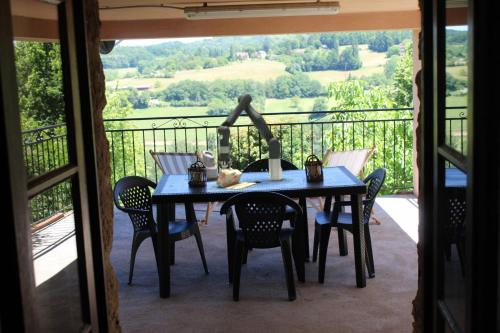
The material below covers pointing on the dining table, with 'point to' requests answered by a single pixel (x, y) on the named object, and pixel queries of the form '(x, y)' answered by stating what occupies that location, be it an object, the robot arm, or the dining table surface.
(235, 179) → the stack of blocks
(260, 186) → the dining table surface
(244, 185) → the oak board
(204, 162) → the juicer
